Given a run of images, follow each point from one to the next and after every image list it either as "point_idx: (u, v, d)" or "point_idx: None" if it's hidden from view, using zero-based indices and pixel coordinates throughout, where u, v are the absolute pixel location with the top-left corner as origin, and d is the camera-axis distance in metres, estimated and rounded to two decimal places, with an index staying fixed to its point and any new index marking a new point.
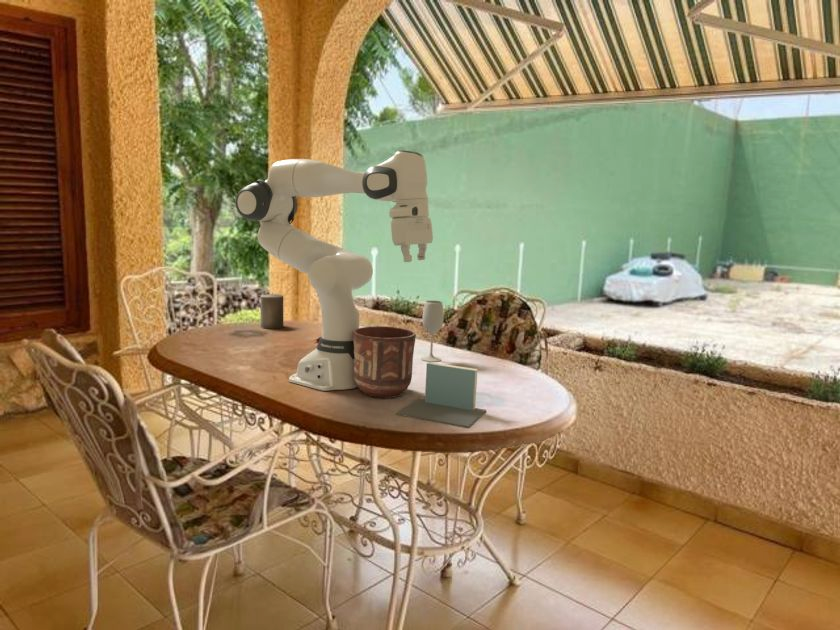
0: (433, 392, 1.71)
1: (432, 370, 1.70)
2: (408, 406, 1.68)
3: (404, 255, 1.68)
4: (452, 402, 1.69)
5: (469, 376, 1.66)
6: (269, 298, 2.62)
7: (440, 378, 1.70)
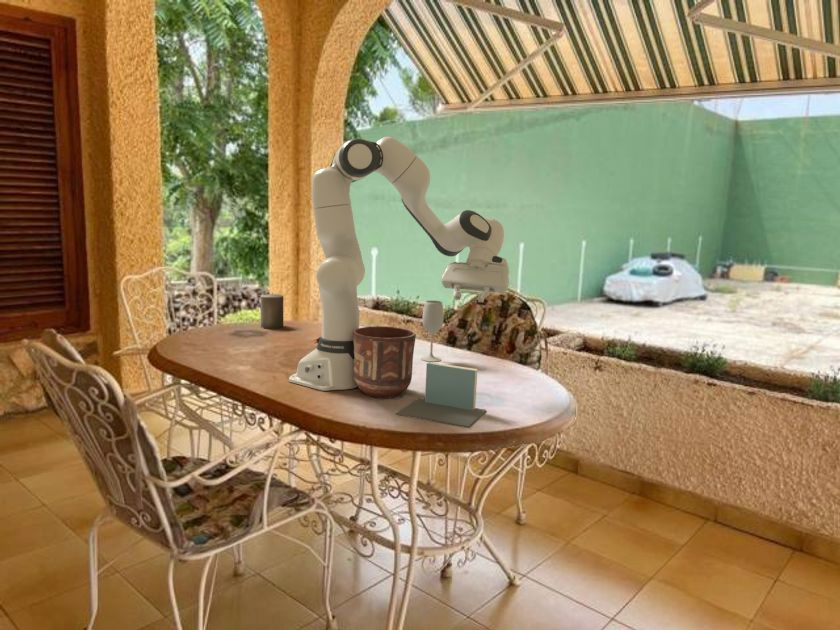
0: (433, 392, 1.71)
1: (432, 370, 1.70)
2: (408, 406, 1.68)
3: (484, 295, 1.81)
4: (452, 402, 1.69)
5: (469, 376, 1.66)
6: (269, 298, 2.62)
7: (440, 378, 1.70)
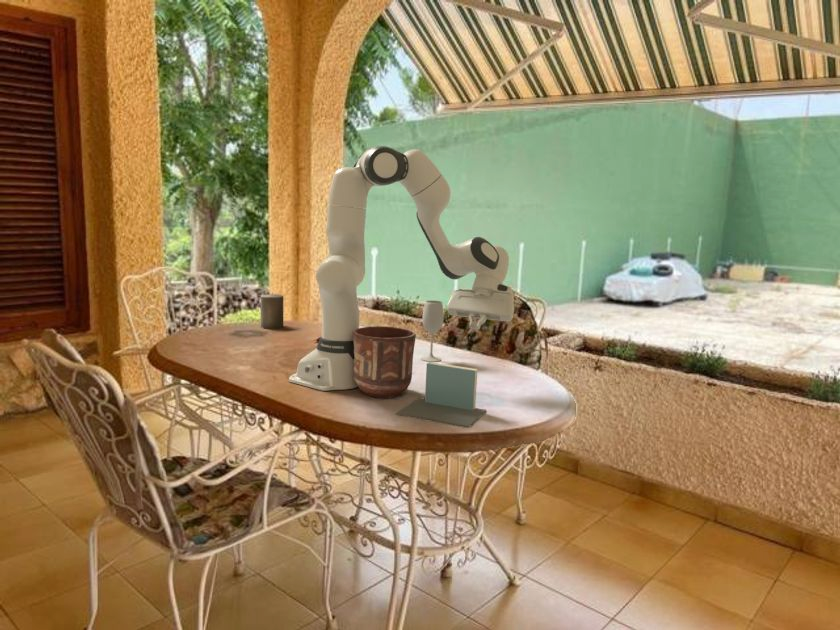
0: (433, 392, 1.71)
1: (432, 370, 1.70)
2: (408, 406, 1.68)
3: (480, 322, 1.84)
4: (452, 402, 1.69)
5: (469, 376, 1.66)
6: (269, 298, 2.62)
7: (440, 378, 1.70)
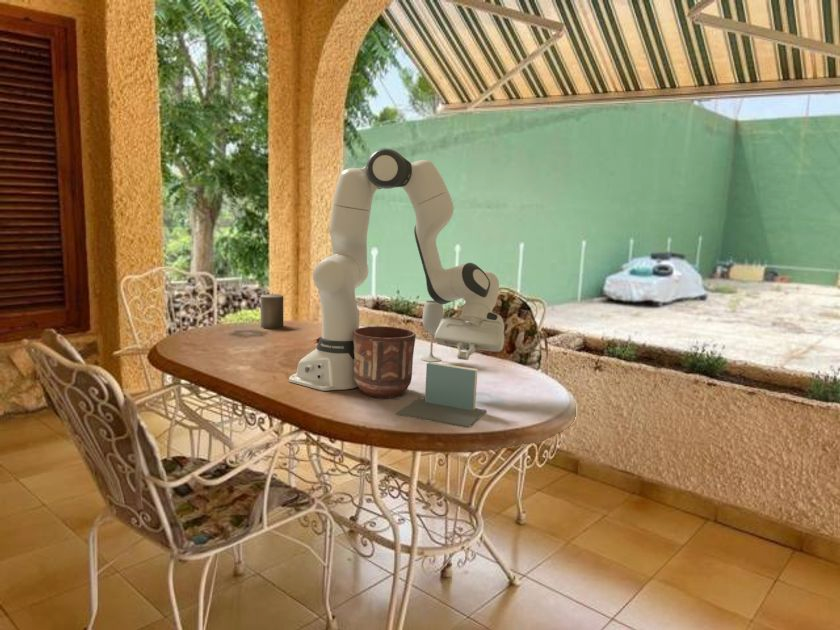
0: (433, 392, 1.71)
1: (432, 370, 1.70)
2: (408, 406, 1.68)
3: (469, 353, 1.77)
4: (452, 402, 1.69)
5: (469, 376, 1.66)
6: (269, 298, 2.62)
7: (440, 378, 1.70)
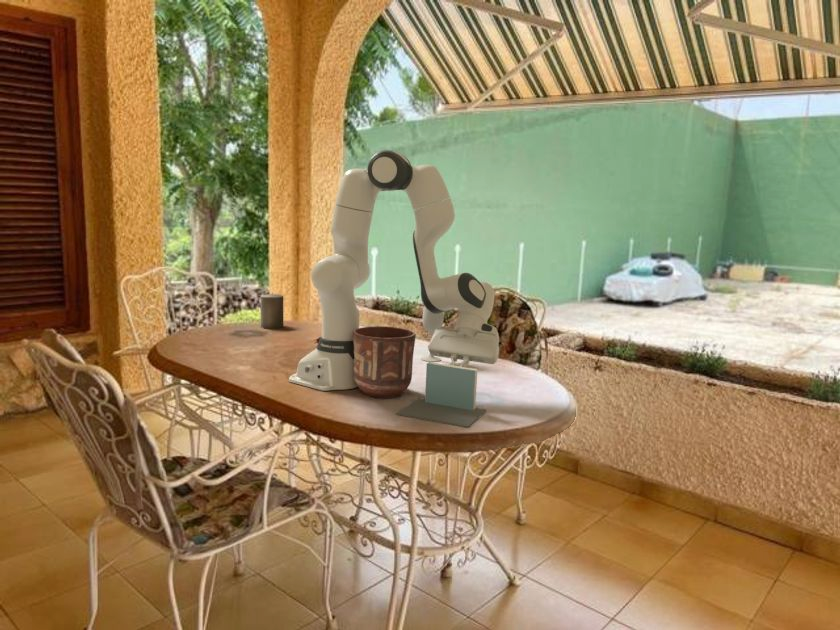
0: (433, 392, 1.71)
1: (432, 370, 1.70)
2: (408, 406, 1.68)
3: (463, 365, 1.73)
4: (452, 402, 1.69)
5: (469, 376, 1.66)
6: (269, 298, 2.62)
7: (440, 378, 1.70)
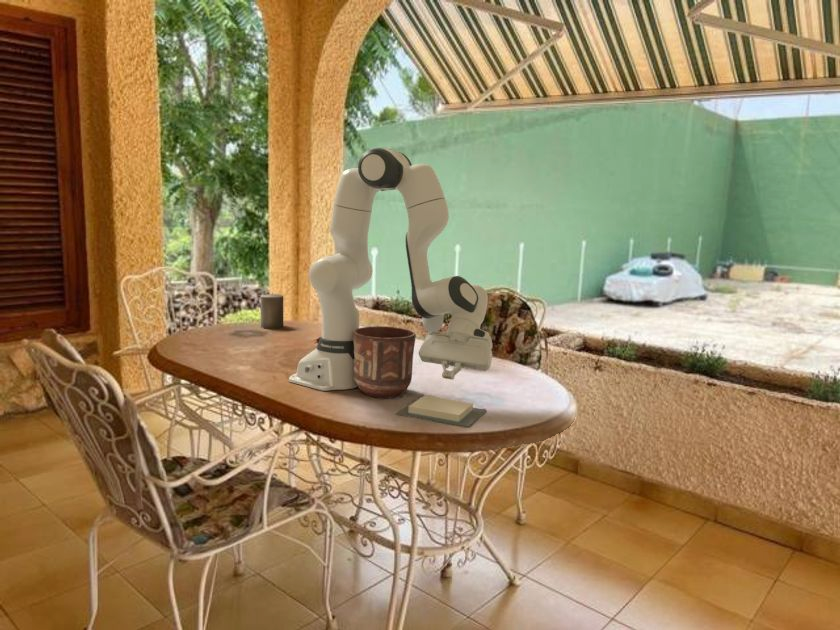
0: None
1: None
2: (408, 406, 1.68)
3: (454, 371, 1.67)
4: None
5: None
6: (269, 298, 2.62)
7: None
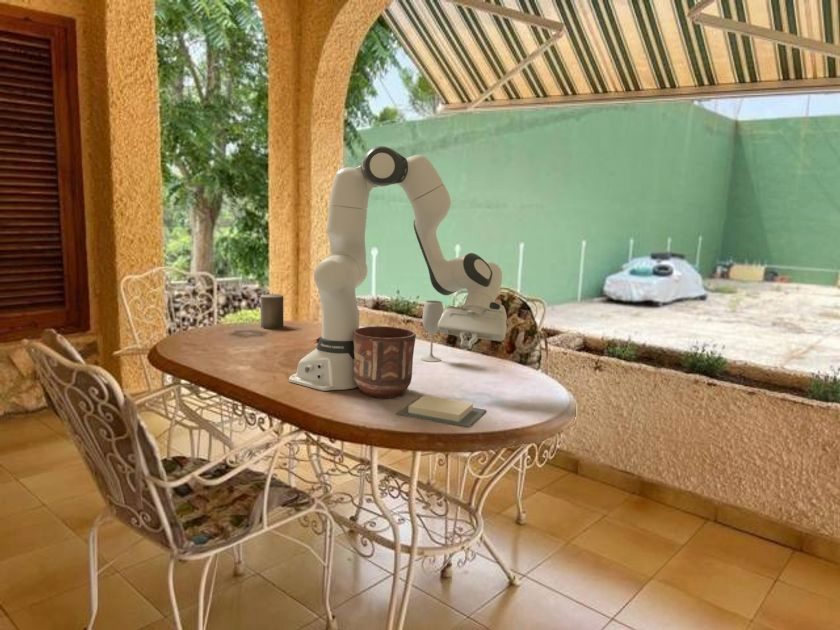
0: None
1: None
2: (408, 406, 1.68)
3: (471, 341, 1.78)
4: None
5: None
6: (269, 298, 2.62)
7: None
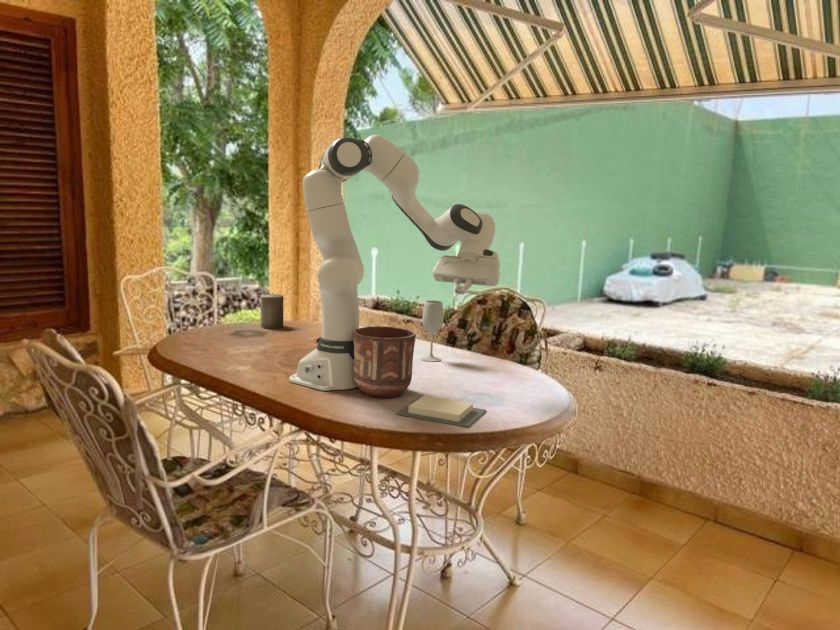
0: None
1: None
2: (408, 406, 1.68)
3: (465, 287, 1.83)
4: None
5: None
6: (269, 298, 2.62)
7: None
